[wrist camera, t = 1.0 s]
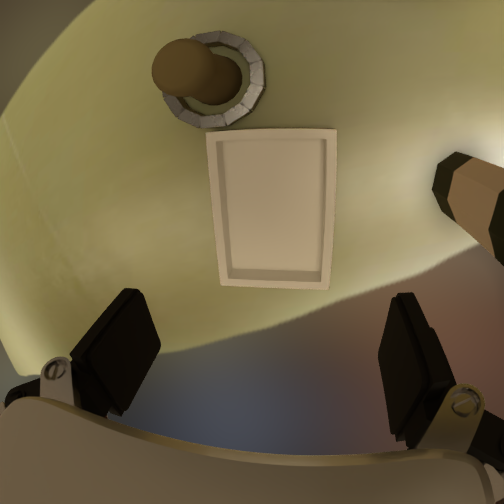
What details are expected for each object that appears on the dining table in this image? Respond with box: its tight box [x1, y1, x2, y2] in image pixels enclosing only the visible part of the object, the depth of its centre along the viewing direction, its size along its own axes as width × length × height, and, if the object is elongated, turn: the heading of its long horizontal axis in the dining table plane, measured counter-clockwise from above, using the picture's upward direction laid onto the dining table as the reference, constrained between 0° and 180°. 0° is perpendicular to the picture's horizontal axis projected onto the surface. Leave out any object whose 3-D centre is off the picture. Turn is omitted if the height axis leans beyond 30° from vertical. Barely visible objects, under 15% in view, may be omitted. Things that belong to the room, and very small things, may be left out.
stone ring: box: [162, 31, 266, 128], centre depth 26 cm, size 11×11×2 cm
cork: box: [152, 38, 242, 105], centre depth 22 cm, size 6×6×11 cm
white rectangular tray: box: [206, 128, 337, 290], centre depth 31 cm, size 18×13×3 cm
